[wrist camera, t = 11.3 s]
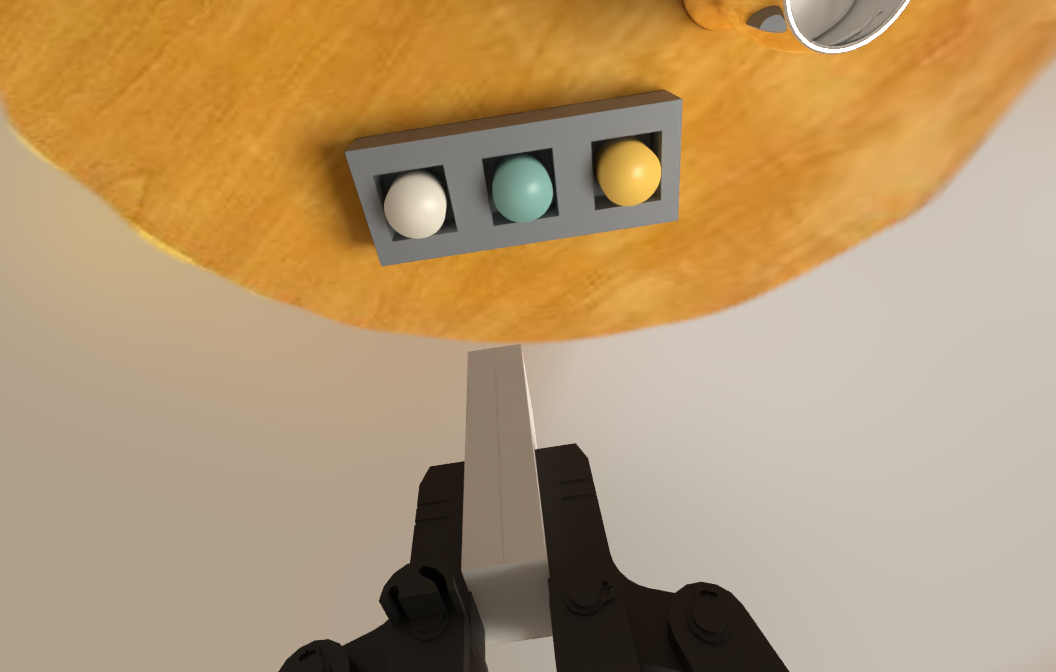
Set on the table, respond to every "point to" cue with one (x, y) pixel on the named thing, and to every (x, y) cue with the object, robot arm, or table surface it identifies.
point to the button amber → (626, 170)
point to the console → (479, 145)
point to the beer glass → (800, 21)
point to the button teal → (521, 187)
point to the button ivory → (416, 203)
